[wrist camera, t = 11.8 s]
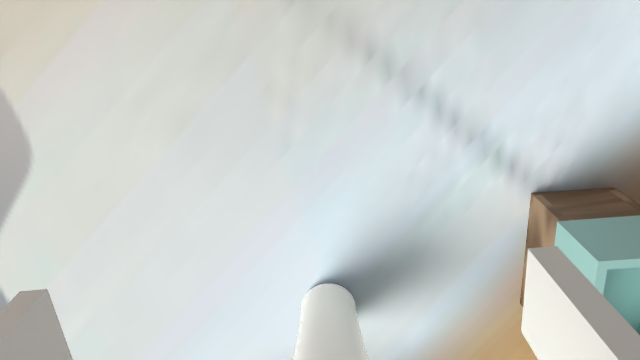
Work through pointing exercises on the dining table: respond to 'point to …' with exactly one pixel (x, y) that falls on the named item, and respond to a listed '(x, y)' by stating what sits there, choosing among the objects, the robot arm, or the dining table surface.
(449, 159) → the dining table surface
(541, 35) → the dining table surface
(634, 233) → the teal crate
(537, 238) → the walnut crate
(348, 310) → the drinking glass
